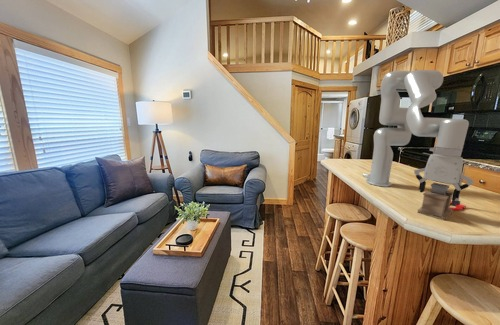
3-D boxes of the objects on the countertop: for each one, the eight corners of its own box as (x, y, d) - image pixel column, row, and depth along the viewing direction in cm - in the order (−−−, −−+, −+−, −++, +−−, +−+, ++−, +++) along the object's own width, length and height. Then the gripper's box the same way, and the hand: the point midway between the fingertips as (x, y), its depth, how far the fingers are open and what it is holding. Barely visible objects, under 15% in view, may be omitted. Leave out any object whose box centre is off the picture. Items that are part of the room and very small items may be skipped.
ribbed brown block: (417, 212, 82) (421, 192, 81) (426, 205, 91) (430, 186, 89) (444, 220, 76) (449, 199, 75) (452, 211, 84) (456, 192, 83)
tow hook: (452, 212, 85) (468, 209, 87) (458, 182, 82) (474, 179, 84) (430, 204, 93) (445, 202, 95) (434, 176, 90) (450, 174, 92)
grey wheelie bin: (426, 208, 84) (431, 184, 82) (429, 206, 86) (434, 182, 84) (441, 212, 80) (446, 187, 78) (444, 209, 83) (449, 185, 81)
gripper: (416, 149, 83) (407, 190, 87) (479, 157, 70) (466, 205, 74) (421, 148, 88) (413, 187, 92) (482, 155, 74) (469, 200, 78)
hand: (437, 195), depth 83 cm, fingers open, 9 cm apart
